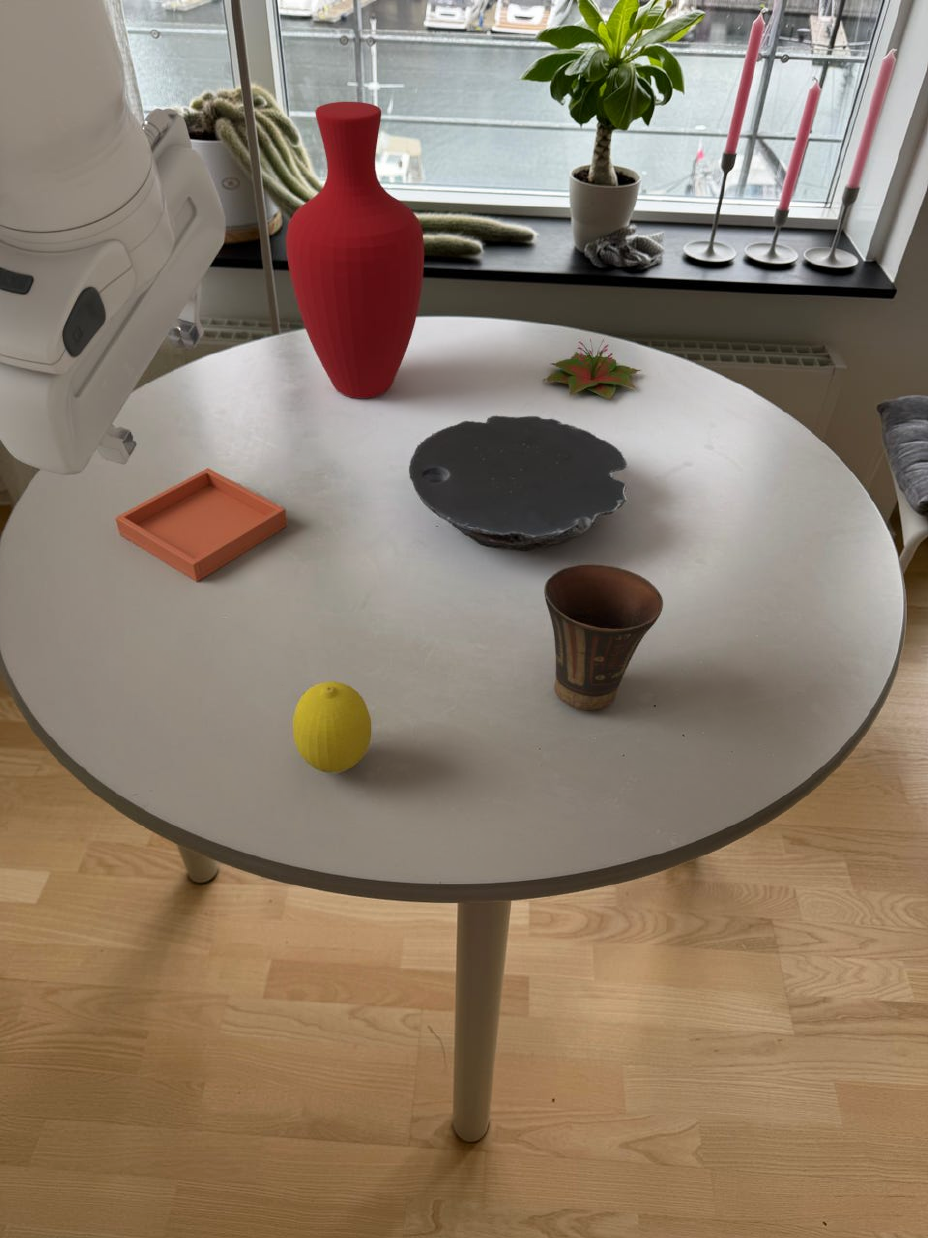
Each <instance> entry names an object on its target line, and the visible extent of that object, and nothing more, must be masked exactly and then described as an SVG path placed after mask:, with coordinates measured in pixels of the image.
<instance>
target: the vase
mask: <svg viewBox="0 0 928 1238" xmlns="http://www.w3.org/2000/svg"><path fill="white" fill-rule="evenodd" d="M315 109H316V110H315V118H316V122H317V125H318V131H319V134H320V137H321V141H322V146H323V150H324V154H325V160H326V168H327V173H326V179H325V182H324V184H323V186H322V188H321V189H320V191H319V192H318V193H317V194H315V196H313V197H312V198H311V199H309V200H307V201H306V202H305V203H304V204H302V205H301V206H300V207H298V208H297V209H296V211H294V213H293V215H292V217H291V218H290V219H289V221H288V225H287V232H286V237H285V243H286V258H287V262H288V263H287V264H288V270H289V276H290V281H291V285H292V288H293V293H294V297H295V301H296V303H297V306H298V310H299V313H300V316H301V320H302V322H303V325H304V328H305V331H306V334H307V336H308V338H309V341H310V343H311V345H312V348H313V350H314V352H315V354H316V356H317V358H318V360H319V362H320V364H321V366H322V367H323V370H324V371H325V373H326V375H327V376H328V377H327V378H329V381H330V383H331V384H332V385H333V387H334V389H335V390H336V391H337V392H339V393H340V394H341V395H343V396H345V397H349V398H355V399H370V398H375V397H379V396H381V395H384V394H385V393H386V392H388V391H389V390H391V388H392V386H393V385H394V382H395V379H396V377H397V374H398V372H399V371H400V368H401V365H402V362H403V360H404V357H405V355H406V353H407V349H408V348H409V344H410V341H411V337H412V335H413V332H414V328H415V324H416V321H417V316H418V312H419V306H420V301H421V295H422V288H423V287H422V286H423V280H424V267H425V266H424V264H425V243H424V242H425V241H424V232H423V228H422V225H421V222H420V220H419V218H418V217H417V215H416V214H415V213H414V211H413V210H412V209H411V208H410V207H409V206H407V204H405V203H403V202H402V201H401V200H400V199H397V198H396V197H394V196H392V195H391V194H390V193H388V192H387V191H386V189H385V188H384V187H383V186H382V184H381V182H380V181H379V178H378V175H377V171H376V158H377V157H376V156H377V145H378V140H379V133H380V126H381V120H382V110H381V108H380V107H379V106H377V105H376V104H372V103H368V102H362V101H335V102H329V103H325V104H322V105H320V106H318V107H317V108H315Z"/></svg>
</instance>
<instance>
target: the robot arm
mask: <svg viewBox="0 0 928 1238" xmlns="http://www.w3.org/2000/svg"><path fill="white" fill-rule="evenodd" d="M125 87H126V75H125V66H124V61H123V58H122V54H121V50H120V47H119V44H118V41H117V38H116V34H115V32H114V29H113V25H112V22H111V20H110V17H109V13H108V10H107V9H106V5H105V2H104V0H0V442H1V443H2V445H3V446H4V447H5V449H6V450H7V451H8V452H9V454H10V455H11V456H12V457H13V458H15V460H18V461H19V462H21V463H23V464H25V465H28V466H30V467H32V468H35V469H39V470H42V471H45V472H48V473H52V474H56V475H61V476H62V475H63V476H64V475H65V476H69V475H73V476H74V475H78V474H81V473H82V472H83V471H84V470H85V469H86V467H87V466H88V464H89V462H90V461H91V459H92V457H93V455H94V454H95V452H96V451H97V452H98V454H99V456H100V457H102V458H103V459H104V460H106V461H109V462H112V463H115V464H120V465H126V464H127V462H128V460H129V459H130V457H131V455H132V454H133V452H134V451H135V448H136V447H137V445H138V444H137V442H136V440H134V436H133V433H132V432H131V430H130V429H127V428H125V427H122V426H119V427H115V426H114V424H113V423H114V422H115V420H116V418H117V417H118V415H119V413H120V412H121V410H122V408H123V407H124V406H125V404H126V402H127V401H128V400H129V397H131V394H132V393H133V391H134V389H135V388H136V386H137V385H138V383H139V382H140V380H141V378H142V376H143V374H144V373H145V371H146V370H147V369H148V367H149V366H150V363H151V362H152V360H153V359H154V357H155V356H156V354H157V352H158V351H159V349H160V347H161V346H162V344H164V341H165V339H166V338H167V339H168V341H169V342H170V344H171V345H172V346H174V347H176V348H179V349H181V348H184V349H185V350H187V351H194V350H195V348H196V347H197V345H198V344H199V342H200V340H201V339H202V337H203V335H204V333H205V331H204V328H203V326H202V322H201V319H200V315H201V306H202V305H201V304H202V295H203V294H202V293H203V283H202V280H203V279H204V277H205V275H206V273H207V271H208V270H209V269H210V267H211V265H212V263H213V262H214V260H215V259H216V257H217V255H218V254H219V252H220V251H221V249H222V248H223V246H224V244H225V242H226V241H225V239H226V231H227V218H226V213H225V210H224V208H223V207H224V206H223V204H222V202H221V198H220V195H219V192H218V190H217V188H216V185H215V182H214V180H213V177H212V175H211V172H210V170H209V168H208V166H207V164H206V162H205V160H204V159H203V157H202V156H201V154H200V153H199V152H198V151H197V150H195V149H193V147H192V141H191V137H190V134H189V131H188V126H187V123H186V121H185V120H186V119H184V116H182V115H181V114H179V113H178V112H177V111H176V110H175V109H173V108H164V109H161V108H155V109H153V110H152V111H151V112H149V114H148V115H147V116H145V118H144V120H143V121H142V124H141V122H139V120H138V119H137V117H136V116H135V114H134V113H133V111H132V110H131V108H130V106H129V104H128V101H127V97H126V88H125ZM167 336H168V337H167Z"/></svg>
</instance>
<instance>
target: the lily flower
mask: <svg viewBox="0 0 928 1238" xmlns="http://www.w3.org/2000/svg"><path fill="white" fill-rule="evenodd" d="M604 341H605V338H604V339H603V340H602V341H601V343H600V346H599V347H598V350H597V352H596V355H595V356H593V354H594V349H593V348H591V349H589V350H588V348H587V347H586V346H585V345H584V343H583V342H582V341H578V343H579V344H580V345H581V346H583V347H584V349H585V350H586V351H585V350H584V349H583V348H582V347H579V346H578V347H577V350H580V351H582V352H583V353H582V352H577V351H576V352H575V353H574V354H573V355H572V356H571V358H566V359H563V360H559V361H556V362H553V363H550V365H551V366H555V367H557V368H559V369H560V370H557V371H555V372H552V373H551V374H549V376H547V378H544V379H542V380H541V381H543V382H553V383H561V384H566V385H568V389H569V391H570V392H569V397H571V396H573V395H574V394H575V395H576V394H577V393H579V392H580V391H583V390H585V389H586V390H588V391H590V392H592V393H595V394H597V395H599V396H600V397H603V398H606V400H609V401H611V399H612V397H613V395H614V394H615V392H616V385H620V386H624V387H628V388H633V389H638V388H637V386H635V385H634V383H633V382H632V380H631V378H630V377H631V376H632V375H634V374H637V373H638V372H641V371H642V369H637V368H634V367H630V366H628V365H617V360H616V359H615V358H613V357H612V356H613V355H614V353H613V352H611V353H609V354H608V356H603V354H604V353H606V352H608V351H609V348H608V347H609V345H610V344H609V343H608V344H606V345H604V347H603V349H601V351H600V348H601V346H602V344H603V342H604ZM589 342H590V346H591V347H593V344H592V339H591V338H589Z"/></svg>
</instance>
